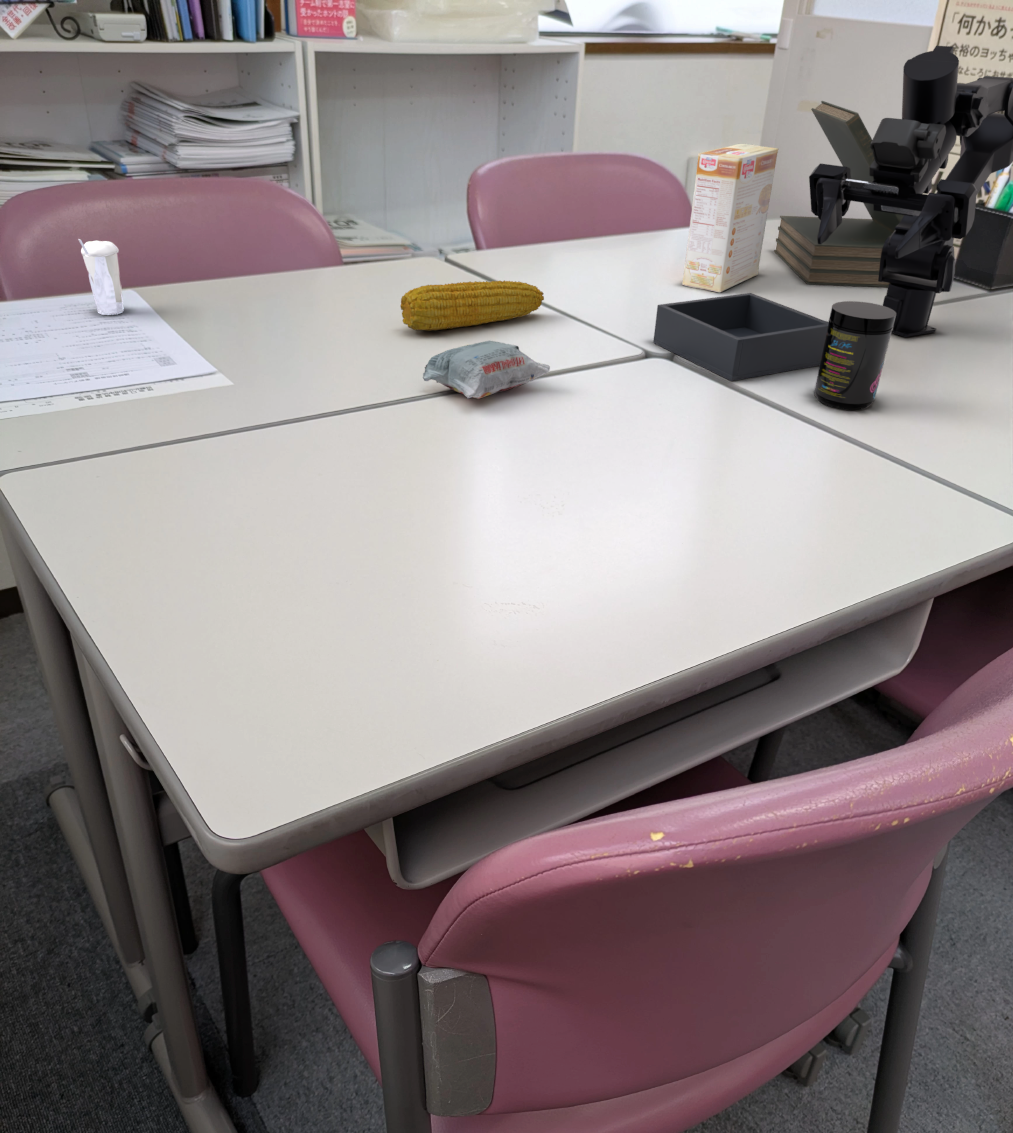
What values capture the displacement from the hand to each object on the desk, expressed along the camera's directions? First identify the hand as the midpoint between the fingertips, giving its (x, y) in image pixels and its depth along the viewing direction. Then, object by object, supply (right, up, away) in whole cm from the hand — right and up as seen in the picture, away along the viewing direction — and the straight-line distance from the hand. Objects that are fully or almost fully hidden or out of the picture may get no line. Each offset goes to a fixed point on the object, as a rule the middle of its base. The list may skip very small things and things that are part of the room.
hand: (856, 247), depth 108 cm
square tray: (-10, -9, +13) cm, 19 cm away
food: (-45, -4, +20) cm, 49 cm away
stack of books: (+18, +15, +54) cm, 59 cm away
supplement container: (-2, -18, 0) cm, 18 cm away
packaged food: (-42, -17, -2) cm, 46 cm away
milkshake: (-93, -3, +18) cm, 95 cm away
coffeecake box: (-5, +10, +45) cm, 46 cm away
